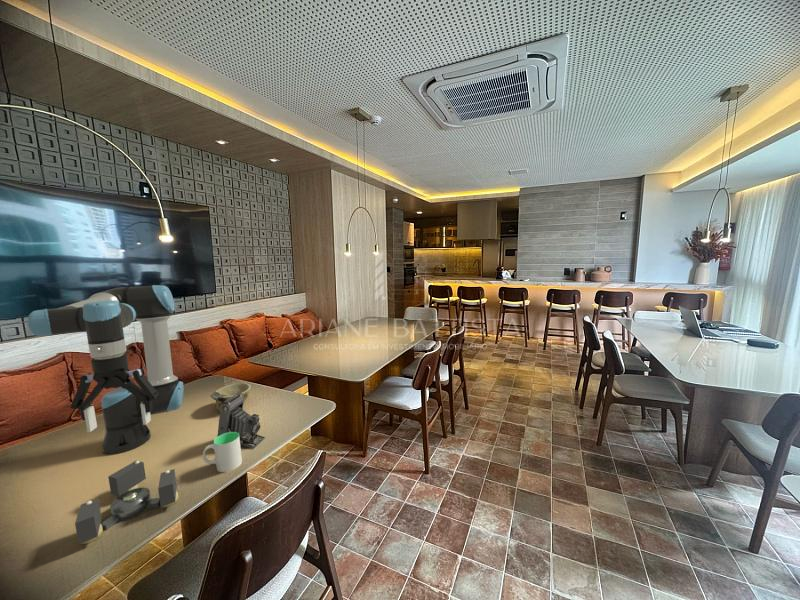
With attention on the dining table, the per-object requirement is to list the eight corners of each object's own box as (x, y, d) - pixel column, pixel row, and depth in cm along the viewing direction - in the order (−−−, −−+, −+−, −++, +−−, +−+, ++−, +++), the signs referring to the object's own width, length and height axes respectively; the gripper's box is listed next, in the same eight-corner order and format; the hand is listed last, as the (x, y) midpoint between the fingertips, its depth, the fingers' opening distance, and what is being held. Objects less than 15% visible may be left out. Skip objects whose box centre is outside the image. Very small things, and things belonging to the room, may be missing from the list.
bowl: (241, 396, 172) (239, 380, 171) (258, 404, 162) (257, 387, 161) (206, 409, 158) (204, 391, 157) (223, 419, 148) (221, 400, 147)
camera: (250, 459, 123) (257, 413, 119) (213, 445, 125) (219, 400, 122) (267, 443, 133) (274, 400, 130) (232, 430, 136) (239, 388, 133)
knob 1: (77, 552, 81) (72, 522, 80) (83, 531, 87) (78, 503, 86) (101, 542, 83) (95, 513, 82) (104, 523, 90) (100, 495, 89)
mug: (202, 478, 107) (198, 449, 106) (206, 464, 115) (203, 437, 113) (241, 468, 112) (238, 441, 111) (242, 455, 119) (240, 429, 118)
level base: (87, 523, 90) (84, 508, 89) (132, 493, 101) (130, 479, 101) (121, 534, 86) (118, 518, 85) (164, 501, 97) (162, 487, 97)
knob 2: (159, 513, 92) (155, 487, 91) (162, 497, 99) (158, 472, 98) (177, 507, 95) (174, 481, 94) (179, 491, 101) (175, 466, 100)
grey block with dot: (111, 499, 99) (106, 474, 98) (138, 482, 106) (134, 458, 105) (120, 502, 98) (116, 476, 96) (147, 484, 105) (144, 460, 104)
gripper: (43, 364, 82) (57, 440, 85) (153, 355, 88) (162, 425, 91) (65, 356, 89) (78, 426, 92) (165, 347, 95) (174, 413, 98)
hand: (120, 426), depth 91 cm, fingers open, 13 cm apart
